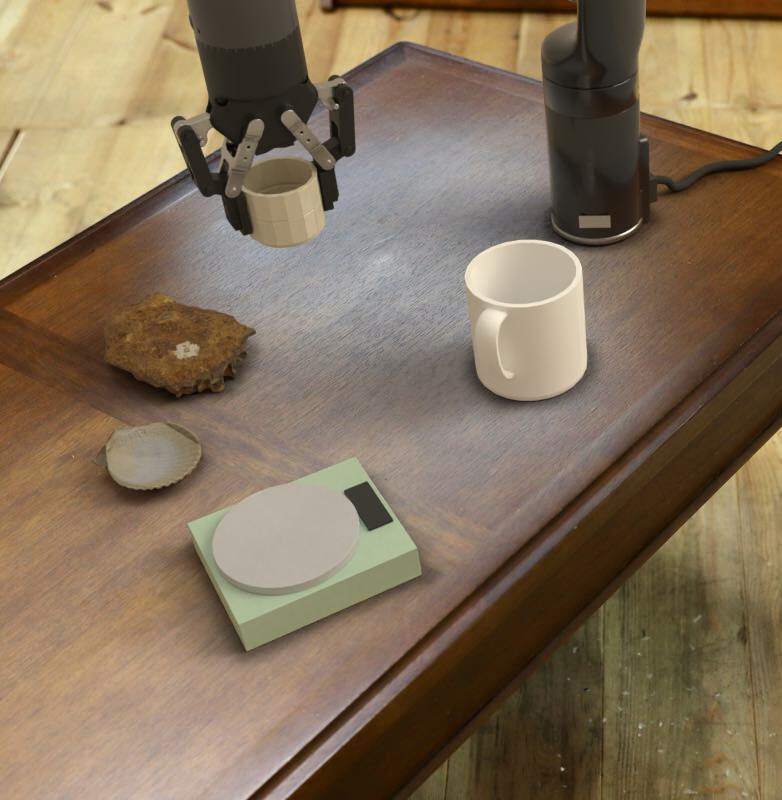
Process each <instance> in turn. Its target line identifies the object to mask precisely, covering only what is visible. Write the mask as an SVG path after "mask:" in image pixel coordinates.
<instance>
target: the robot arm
mask: <svg viewBox="0 0 782 800" xmlns="http://www.w3.org/2000/svg"><path fill="white" fill-rule="evenodd" d="M568 1H569V2H572V3H576V9H577V10H576V20H574V21H571V22H568V23H565V24H562V25H560V26H558V27H556V28H554V29H553V30H551V31H550V32H548V34H547V35H545V37H544V38H543V41H542V42H541V46H540V63H541V78H542V91H543V105H544V118H545V119H544V120H545V129H546V130H545V132H546V147H547V159H548V161H547V162H548V173H549V189H550V202H551V203H550V209H551V214H550V215H551V216H550V217H551V226H552V228H553V230H554V231H555V233H556V234H557V235H559V236H560V237H562V239H565V240H567V241H570V242H572V243H575V244H580V245H588V246H600V245H601V246H603V245H610V244H614V243H618V242H621V241H623V240H626V239H628V238H630V237H631V236H633V235H635V233H637V232H638V231H639V230H640V228H641V227H642V225H643V224H644V223H647V222H649V221H650V220H651V204H654V203H656V202H658V185H664V186H666V187H667V189H669V190H670V191H672V192H681V191H684V190H687V188H690V187H691V185H693V184H694V183H696V182H697V181H698V180H700V179H701V178H702V177H704V176H705V175H707V174H710V173H714V172H718V171H723V170H733V169H735V170H736V169H737V170H738V169H747V168H748V169H749V168H753V167H758V166H761V165H764V164H766V163H767V162H769V161H771V160H772V159H774V158H775V157H776V156H777V155H779V154H780V153H781V152H782V140H781V141H779V142H778V143H777V144H775V145H774V146H773V147H772V148H771V149H769V150H768V151H767V152H766V153H764V154H762V155H759V156H756V157H753V158H752V157H751V158H747V159H746V158H745V159H733V160H721V161H715V162H711V163H708V164H705V165H703V166H701V167H699V168H698V169H696V170H694V171H693V172H692V173H691V174H690V175H689V176H687V177H686V178H685V179H684V180H681V181H679V182H678V181H677V182H675V181H674V180H673V179H672V178H671V177H669V176H667V175H658V174H657V175H655V174H654V173H652V172H651V171H650V139H649V138H648V136H647V135H646V134H645V133H643V132H642V131H641V107H640V106H641V97H640V96H641V95H640V51H641V46H642V41H643V39H644V34H645V28H646V18H647V17H646V16H647V15H646V13H647V11H646V10H647V0H568ZM186 4H187V9H188V21H189V24H190V27H191V29H192V30H193V35H194V39H195V44H196V49H197V52H198V57H199V61H200V64H201V69H202V74H203V79H204V82H205V86H206V91H207V97H208V99H207V104H206V107H205V112H203V113H200V114H197V115H195V116H192V117H189V118H187V119H186V117H185V116H182V115H176V116H173V118H172V119H171V121H170V127H171V130H172V133H173V135H174V137H175V140H176V143H177V145H178V147H179V150H180V153H181V155H182V157H183V161H184V163H185V165H186V168H187V170H188V173H189V176H190V179H191V180H192V182H193V184H194V185H195V187H196V188H197V189H198V191H199V192H200V194H201V195H202V196H203V197H205V198H211V197H213V196H214V195H216V196H217V195H218V196H220V197H221V201H222V205H223V210H224V214H225V217H226V220H227V222H228V223H229V224H230V226H231V227H232V229H233V230H234V231H235V232H238V231H239V232H240V234H241V235H242V236H243V237H245V236H250V234H252V228H251V223H250V219H249V215H248V210H247V206H246V201H245V197H244V194H243V193H242V192H241V189H242V185H243V182H244V178H245V175H246V173H247V172H249V171H250V168H251V165H252V164H253V161H254V158H255V156H256V157H257V156H261V155H265V154H267V153H269V152H271V151H272V150H274V149H285V148H289V147H293V146H295V142H296V141H298V142H299V143H300V144H301V146H302V147H303V148H304V149H305V150H306V151H307V152H308V153H309V154H310V156H311V157H312V160H311V161H310V160H309V161H310V162H312V163H313V165H314V166H315V167H316V168H317V172H318V177H319V183H320V188H321V194H322V199H323V204H324V210H325V212H328V211H332V210H335V205H334V203H336V202H338V201H339V197H340V192H339V186H338V181H337V176H336V175H337V174H336V170H335V169H336V168H335V167H336V164H337V163H338V161H340V160H341V159H343V158H344V157H345V158H350V157H352V156H354V154H355V153H356V149H357V147H356V145H357V144H356V126H355V123H356V122H355V105H354V104H355V101H354V99H355V98H354V97H355V96H354V90H353V88H352V87H351V86H350V85H349V84H348V82H346V80H345V79H343V78H342V76H340V75H339V74H332V75H330V76H329V77H328V79H327V81H320V82H314V83H313V82H312V81H311V79H310V77H309V71H308V65H307V60H306V59H307V58H306V55H305V49H304V44H303V43H304V41H303V37H302V32H301V26H300V21H299V15H298V8H297V4H296V0H186ZM319 100H321V103H322V105H324V106H325V108H326V109H327V110H328V123H329V138H328V139H326V140H325V141H323V142H321V141H320V140H319V138H318V137H317V136H316V135H315V134H314V133H313V132H312V130H311V129H310V128H309V127H308V126H307V124H308V122H309V120H310V118H311V116H312V115H313V112H314V110H315V107H316V106H317V103H318V102H319ZM211 129H214V130H215V131H217V132H218V133H219V134H221V136H223V141H222V145H221V147H220V155H221V156H220V161H219V164H218V168H217V172H213V171H211V169H210V168H209V164H208V162H207V160H206V157H205V154H204V152H203V149H202V148H204V147H206V145H207V143H208V133H209V131H210V130H211ZM770 152H771V153H770ZM773 153H774V154H773Z"/></svg>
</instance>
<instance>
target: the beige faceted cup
mask: <svg viewBox="0 0 782 800" xmlns="http://www.w3.org/2000/svg"><path fill="white" fill-rule="evenodd" d="M241 192H242V193H243V194H244V197H245V201H246V206H247V210H248V215H249V219H250V223H251V228H252V234H249V236H250V237H251V239H252V240H254V241H256V242H258V243H259V244H260V245H263V246H265V247H269V248H273V249H274V248H276V249H287V248H294V247H299V246H301V245H304V244H306V243H309V242H310V241H312V240H314V238H315V239H316V237H317V236H318V235H319V234H320V233H321V231H322V230H323V229H324V227H325V226H326V221H327V220H326V219H327V216H326V211H325V210H324V204H323V199H322V194H321V188H320V183H319V177H318V172H317V168H316V167H315V166H314V165H313V163H312V162H310V160H308V159H305V158H303V157H299V156H290V155H282V156H272V157H269V158H263V159H261V160H257V161H255V162H254V163H253V162H252V165H251V168H250V171H249V172H247V173H246V175H245V178H244V182H243V185H242V189H241Z"/></svg>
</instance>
